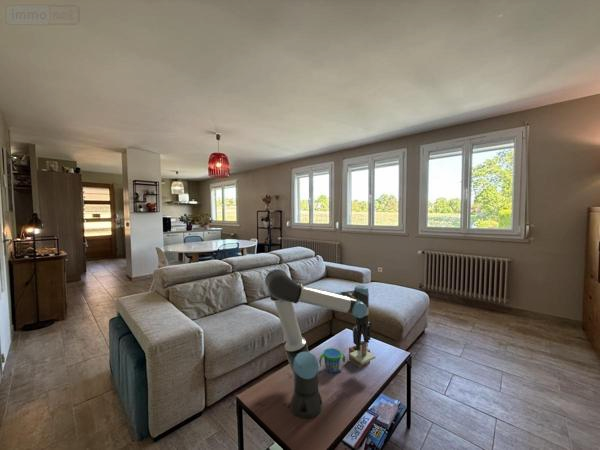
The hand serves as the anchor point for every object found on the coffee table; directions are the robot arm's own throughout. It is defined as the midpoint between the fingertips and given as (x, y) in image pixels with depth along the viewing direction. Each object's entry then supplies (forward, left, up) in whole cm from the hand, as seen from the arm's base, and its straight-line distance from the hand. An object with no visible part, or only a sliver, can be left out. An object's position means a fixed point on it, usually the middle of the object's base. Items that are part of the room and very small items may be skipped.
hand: (362, 354), depth 142 cm
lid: (0, 0, -2) cm, 2 cm away
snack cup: (-11, +13, -12) cm, 21 cm away
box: (+8, +10, -12) cm, 18 cm away
